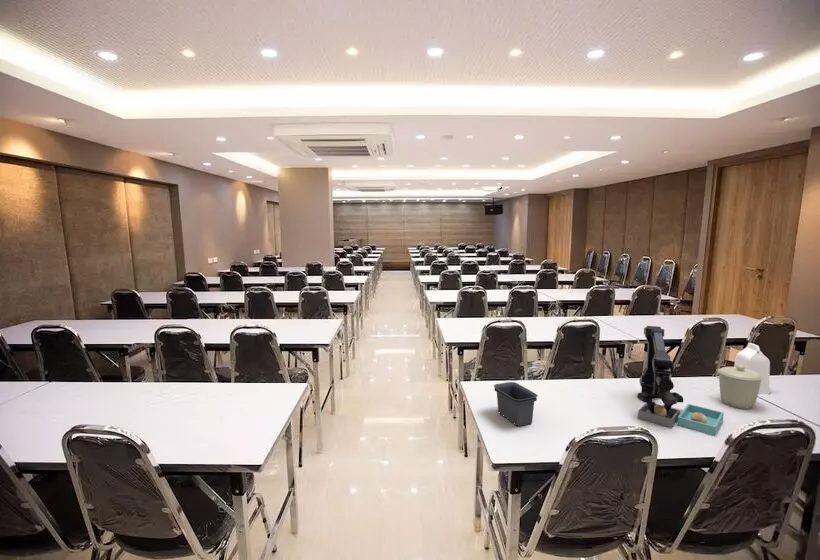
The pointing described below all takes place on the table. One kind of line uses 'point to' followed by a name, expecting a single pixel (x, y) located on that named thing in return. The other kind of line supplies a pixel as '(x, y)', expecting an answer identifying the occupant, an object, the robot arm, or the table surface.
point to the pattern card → (676, 408)
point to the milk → (755, 364)
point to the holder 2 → (709, 428)
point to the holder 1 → (664, 421)
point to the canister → (739, 386)
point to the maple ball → (660, 410)
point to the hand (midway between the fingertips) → (659, 414)
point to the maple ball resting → (699, 417)
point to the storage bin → (515, 402)
